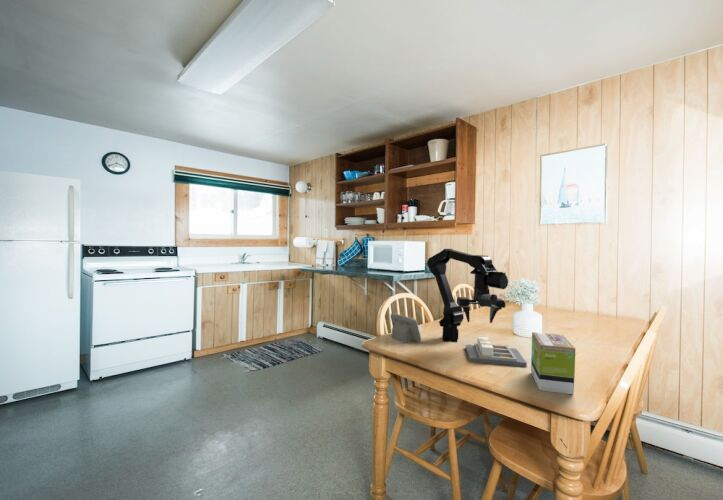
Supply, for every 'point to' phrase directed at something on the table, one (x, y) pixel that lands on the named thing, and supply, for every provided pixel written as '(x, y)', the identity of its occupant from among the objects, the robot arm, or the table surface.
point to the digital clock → (405, 328)
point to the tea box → (553, 363)
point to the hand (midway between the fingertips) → (479, 322)
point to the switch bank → (496, 356)
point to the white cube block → (483, 343)
